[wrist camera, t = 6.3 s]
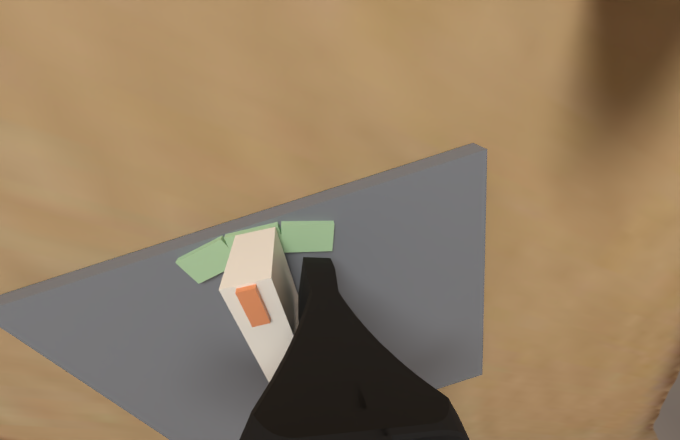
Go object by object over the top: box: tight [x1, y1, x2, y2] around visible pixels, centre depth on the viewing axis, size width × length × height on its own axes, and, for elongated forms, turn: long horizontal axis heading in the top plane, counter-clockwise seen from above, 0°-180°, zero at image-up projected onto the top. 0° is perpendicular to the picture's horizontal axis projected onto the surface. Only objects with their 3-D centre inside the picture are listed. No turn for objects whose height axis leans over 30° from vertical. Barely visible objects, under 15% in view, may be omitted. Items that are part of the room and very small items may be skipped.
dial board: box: [0, 143, 487, 440], centre depth 16 cm, size 18×22×1 cm
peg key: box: [219, 227, 299, 382], centre depth 12 cm, size 11×4×4 cm, turn 9°
